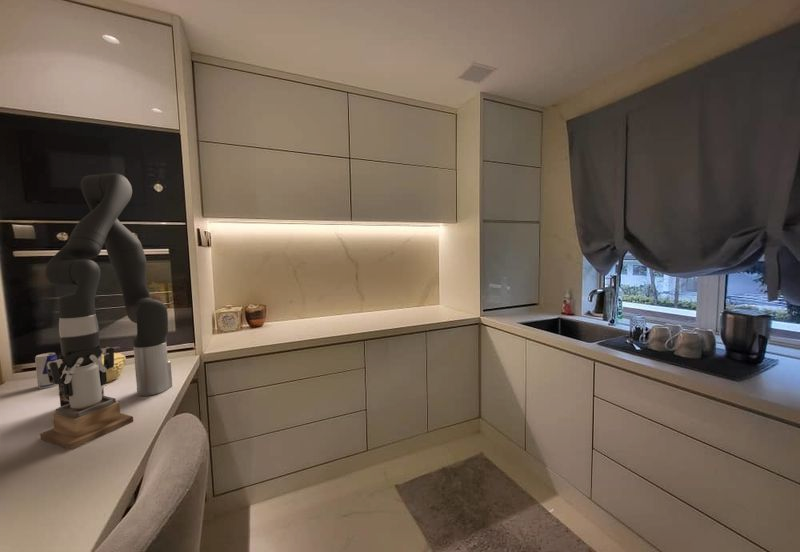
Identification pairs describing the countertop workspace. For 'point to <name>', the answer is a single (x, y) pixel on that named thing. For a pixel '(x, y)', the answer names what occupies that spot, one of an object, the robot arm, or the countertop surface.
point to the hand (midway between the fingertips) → (85, 390)
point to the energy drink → (44, 369)
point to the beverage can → (85, 387)
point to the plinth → (85, 437)
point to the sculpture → (115, 367)
